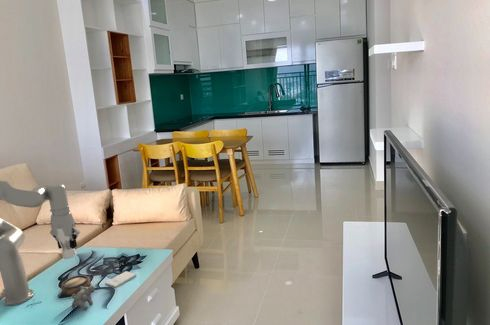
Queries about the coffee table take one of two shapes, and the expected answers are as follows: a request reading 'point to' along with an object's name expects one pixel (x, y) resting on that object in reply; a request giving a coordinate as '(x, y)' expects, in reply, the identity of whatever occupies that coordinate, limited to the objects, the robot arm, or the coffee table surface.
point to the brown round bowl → (75, 284)
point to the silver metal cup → (65, 244)
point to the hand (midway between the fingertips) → (67, 247)
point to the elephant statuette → (83, 297)
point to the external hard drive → (120, 279)
